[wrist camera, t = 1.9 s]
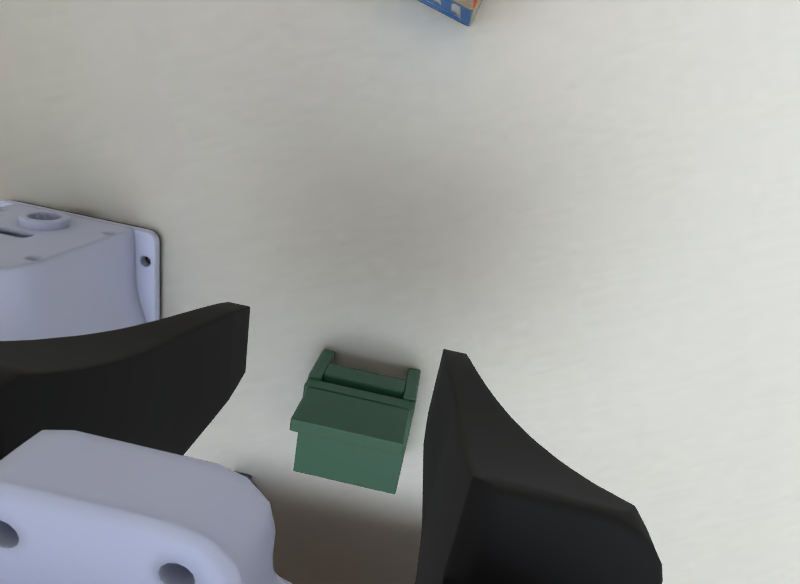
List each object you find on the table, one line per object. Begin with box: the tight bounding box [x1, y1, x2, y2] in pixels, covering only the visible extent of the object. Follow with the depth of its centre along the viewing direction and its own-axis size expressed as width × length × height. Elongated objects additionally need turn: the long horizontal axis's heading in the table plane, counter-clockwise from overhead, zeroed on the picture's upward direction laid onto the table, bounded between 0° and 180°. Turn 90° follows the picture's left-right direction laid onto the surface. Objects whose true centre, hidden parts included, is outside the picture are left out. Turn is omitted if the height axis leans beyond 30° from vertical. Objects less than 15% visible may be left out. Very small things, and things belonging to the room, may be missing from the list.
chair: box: [290, 350, 420, 494], centre depth 22 cm, size 5×5×6 cm
